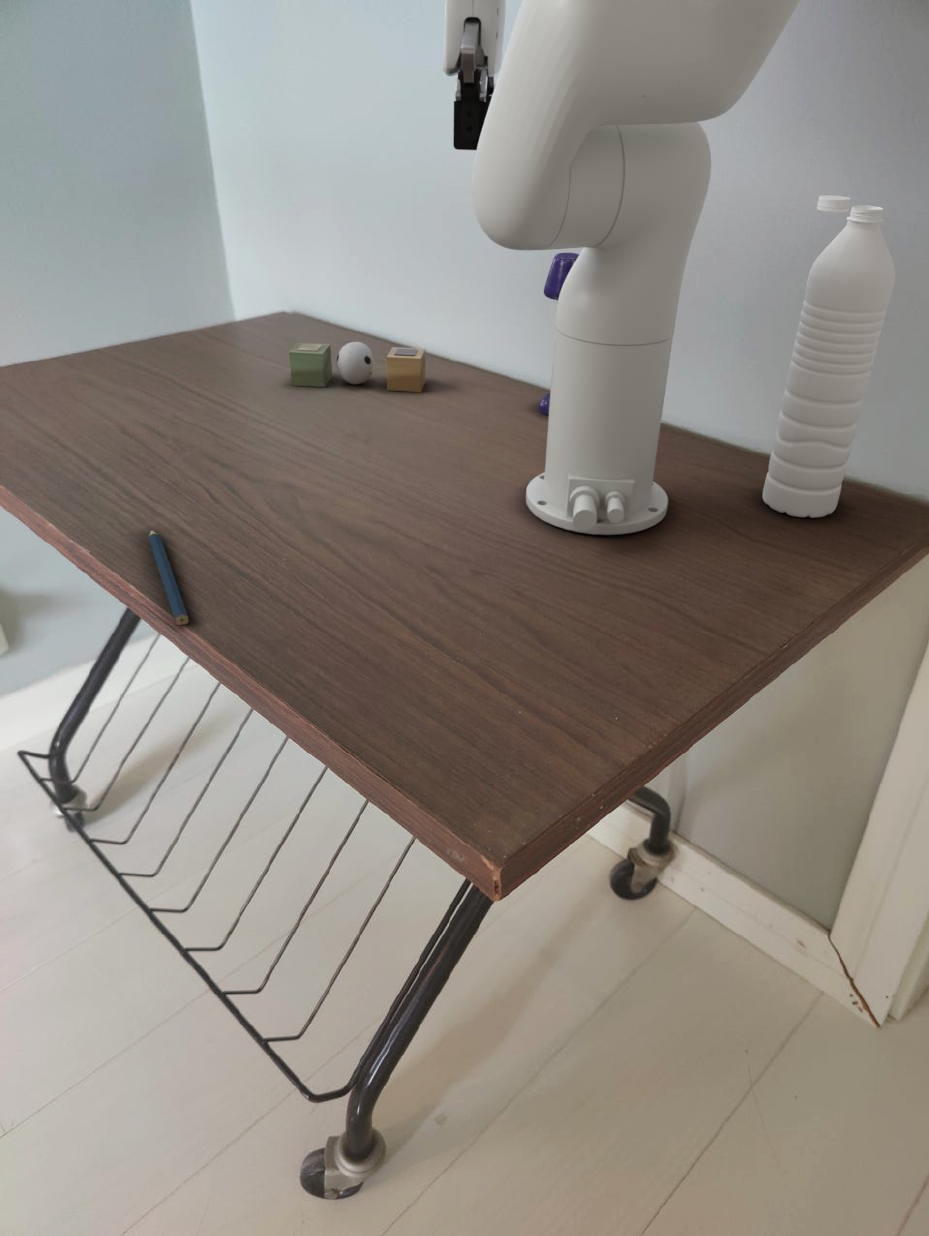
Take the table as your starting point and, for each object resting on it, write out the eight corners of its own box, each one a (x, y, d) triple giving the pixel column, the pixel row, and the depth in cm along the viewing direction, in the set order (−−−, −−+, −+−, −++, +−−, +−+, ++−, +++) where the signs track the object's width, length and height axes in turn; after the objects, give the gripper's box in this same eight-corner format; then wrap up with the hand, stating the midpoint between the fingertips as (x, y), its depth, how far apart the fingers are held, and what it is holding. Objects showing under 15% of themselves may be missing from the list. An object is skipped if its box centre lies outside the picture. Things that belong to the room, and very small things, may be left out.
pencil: (191, 617, 65) (159, 527, 76) (177, 613, 64) (147, 523, 75) (185, 627, 65) (154, 535, 76) (172, 623, 64) (143, 532, 76)
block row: (420, 392, 107) (420, 357, 105) (291, 385, 108) (288, 351, 106) (425, 381, 111) (425, 347, 108) (300, 375, 112) (297, 341, 110)
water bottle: (850, 515, 81) (933, 211, 68) (786, 522, 80) (857, 213, 66) (796, 476, 88) (860, 194, 75) (735, 482, 87) (790, 195, 73)
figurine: (372, 392, 107) (371, 349, 104) (332, 388, 108) (329, 346, 105) (384, 379, 111) (383, 338, 108) (345, 375, 112) (343, 335, 109)
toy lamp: (585, 415, 102) (600, 257, 93) (549, 421, 100) (560, 260, 91) (563, 401, 105) (575, 248, 96) (528, 407, 104) (536, 251, 95)
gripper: (449, -62, 89) (448, 135, 99) (424, -81, 75) (425, 152, 84) (526, -61, 89) (517, 137, 98) (515, -80, 74) (507, 155, 83)
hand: (475, 144), depth 91 cm, fingers open, 9 cm apart
